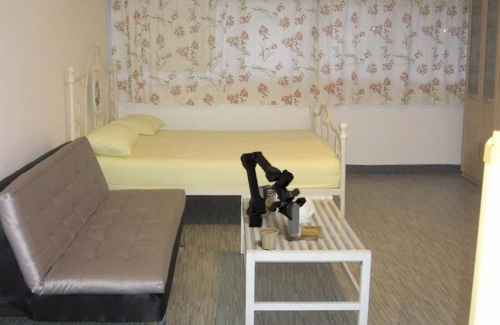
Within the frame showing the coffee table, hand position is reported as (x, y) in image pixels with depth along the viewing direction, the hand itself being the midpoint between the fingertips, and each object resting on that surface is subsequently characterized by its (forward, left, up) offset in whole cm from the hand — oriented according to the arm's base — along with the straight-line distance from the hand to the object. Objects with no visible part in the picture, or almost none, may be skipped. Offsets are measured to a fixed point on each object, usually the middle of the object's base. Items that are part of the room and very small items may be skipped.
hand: (295, 219), depth 286 cm
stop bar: (-1, +1, -7) cm, 7 cm away
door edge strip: (+3, +7, -12) cm, 14 cm away
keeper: (+8, +14, -12) cm, 20 cm away
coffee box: (-18, +52, -12) cm, 57 cm away
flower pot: (-12, -8, -12) cm, 19 cm away
